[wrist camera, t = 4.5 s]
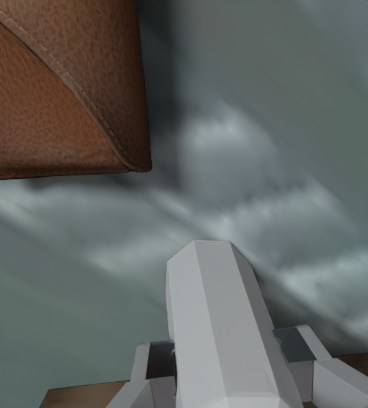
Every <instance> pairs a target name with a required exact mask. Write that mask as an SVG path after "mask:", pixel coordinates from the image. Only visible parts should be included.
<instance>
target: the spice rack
mask: <svg viewBox="0 0 368 408" xmlns="http://www.w3.org/2000/svg"><path fill="white" fill-rule="evenodd" d="M332 358H333V359H334V358H337V359H339V360H341V361H342V362H344V363H346V364H347V365H349V366H351V367H352V368H354V369H355V370H357V371H359V372H360V373H362V374H364V375H365V376H367V377H368V353H364V354H356V355H347V356H338V357H332ZM126 382H130V380H128V381H120V382H111V383H102V384H93V385H85V386H76V387H67V388H59V389H50V390H48V392H47V394H46V396H45V398H44V399H43V401H42V403H41V405H40V407H39V408H106V406H107V405H108V404H109V403H110V401H111V400H112V399H113V398H114V397H115V395H116V394H117V393H118V392H119V391H120V389H121V388H122V387H123V386H124V384H125V383H126ZM302 404H303V407H304V408H318V407H317V406H316V405H314V404H313V401H309V402H302Z"/></svg>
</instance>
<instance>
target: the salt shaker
mask: <svg viewBox="0 0 368 408" xmlns="http://www.w3.org/2000/svg"><path fill="white" fill-rule="evenodd" d="M166 304H167V315H168V326H169V337H170V341H171V340H174V342H175V366H176V385H177V391H176V408H304V407H303V404H302V401H301V398H300V395H299V392H298V390H297V387H296V384H295V382H294V379H293V376H292V374H291V372H290V371H289V370H288V368H287V366H286V363H285V361H284V359H283V356H282V354H281V352H280V346H279V344H278V343H277V341H276V340H275V338H274V335H273V333H272V329H275V328H274V326H273V323H272V320H271V318H270V315H269V312H268V310H267V307H266V304H265V302H264V299H263V296H262V294H261V291H260V288H259V286H258V283H257V280H256V278H255V275H254V272H253V270H252V267H251V265H250V264H249V263H248V262H247V261H246V260H245V258H244V257H243V256H242V255H241V254H240V253H239V252H238V251H237V250H236V248H235V247H234V246H233V245H232V244H231V243H230V242H227V241H207V240H193V241H192V242H191V243H189V244H188V245H187V246H186V247H185V248H183V249H182V250H181V251H180V252H178V253H177V254H176V255H175V256H174V257H172V258H171V259H170V260H169V261H167V274H166Z"/></svg>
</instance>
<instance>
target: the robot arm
mask: <svg viewBox="0 0 368 408" xmlns="http://www.w3.org/2000/svg"><path fill="white" fill-rule="evenodd" d="M272 333H273V335H274V338H275V340H276V341H277V343H278V344H279V346H280V352H281V354H282V356H283V359H284V361H285V363H286V366H287V368H288V370H289V371H290V372H291V374H292V376H293V379H294V382H295V384H296V387H297V390H298V392H299V395H300V398H301V401H302V402H309V401H313V404H314V405H316V406H317V407H318V408H368V377H367V376H365V375H364V374H362V373H360V372H359V371H357V370H355V369H354V368H352V367H351V366H349V365H347V364H346V363H344V362H342V361H341V360H339V359H337V358H334V359H333V358H332V357H331V355H330V354H329V353H328V351H327V350H326V348H325V347H324V346H323V344H322V343H321V342H320V340H319V339H318V337H317V336H316V335H315V333H314V332H313V331H312V329H311V328H310V326H308V325H307V324H306V325H299V326H292V327H284V328H275V329H272ZM176 391H177V385H176V366H175V342H174V340H171V341H160V342H151V343H140V344H138V346H137V349H136V354H135V359H134V364H133V370H132V375H131V380H130V382H126V383H125V384H124V386H123V387H122V388H121V389H120V391H119V392H118V393H117V394H116V395H115V397H114V398H113V399H112V400H111V401H110V403H109V404H108V405H107V406H106V408H176Z"/></svg>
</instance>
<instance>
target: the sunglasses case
mask: <svg viewBox="0 0 368 408" xmlns="http://www.w3.org/2000/svg"><path fill="white" fill-rule="evenodd" d="M151 170H152V161H151V150H150V136H149V122H148V111H147V100H146V89H145V79H144V70H143V60H142V50H141V39H140V29H139V23H138V13H137V4H136V0H0V180H9V179H26V178H40V177H49V176H67V175H97V174H108V173H127V172H130V171H132V172H134V171H135V172H149V171H151Z"/></svg>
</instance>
